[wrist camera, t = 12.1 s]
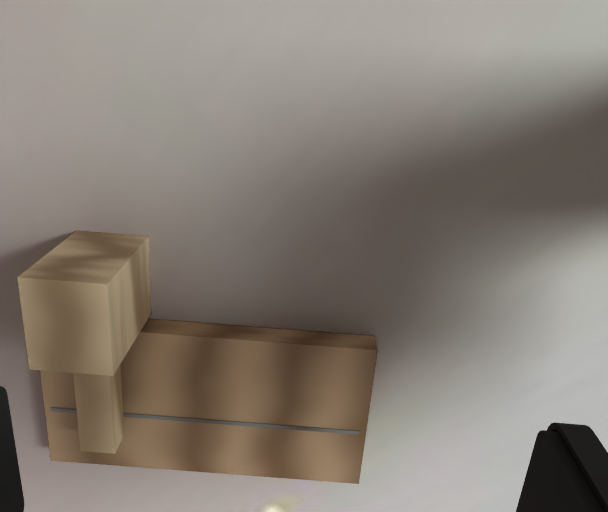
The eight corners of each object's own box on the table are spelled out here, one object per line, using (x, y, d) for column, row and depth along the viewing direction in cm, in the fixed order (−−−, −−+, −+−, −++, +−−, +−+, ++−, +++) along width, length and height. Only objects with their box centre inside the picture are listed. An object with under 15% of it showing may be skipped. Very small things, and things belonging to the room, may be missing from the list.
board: (374, 336, 40) (377, 351, 38) (357, 465, 45) (358, 484, 43) (47, 311, 40) (33, 324, 38) (61, 442, 45) (50, 461, 43)
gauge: (148, 236, 38) (107, 284, 31) (154, 408, 43) (119, 485, 36) (76, 230, 38) (17, 277, 31) (90, 403, 43) (43, 479, 36)
